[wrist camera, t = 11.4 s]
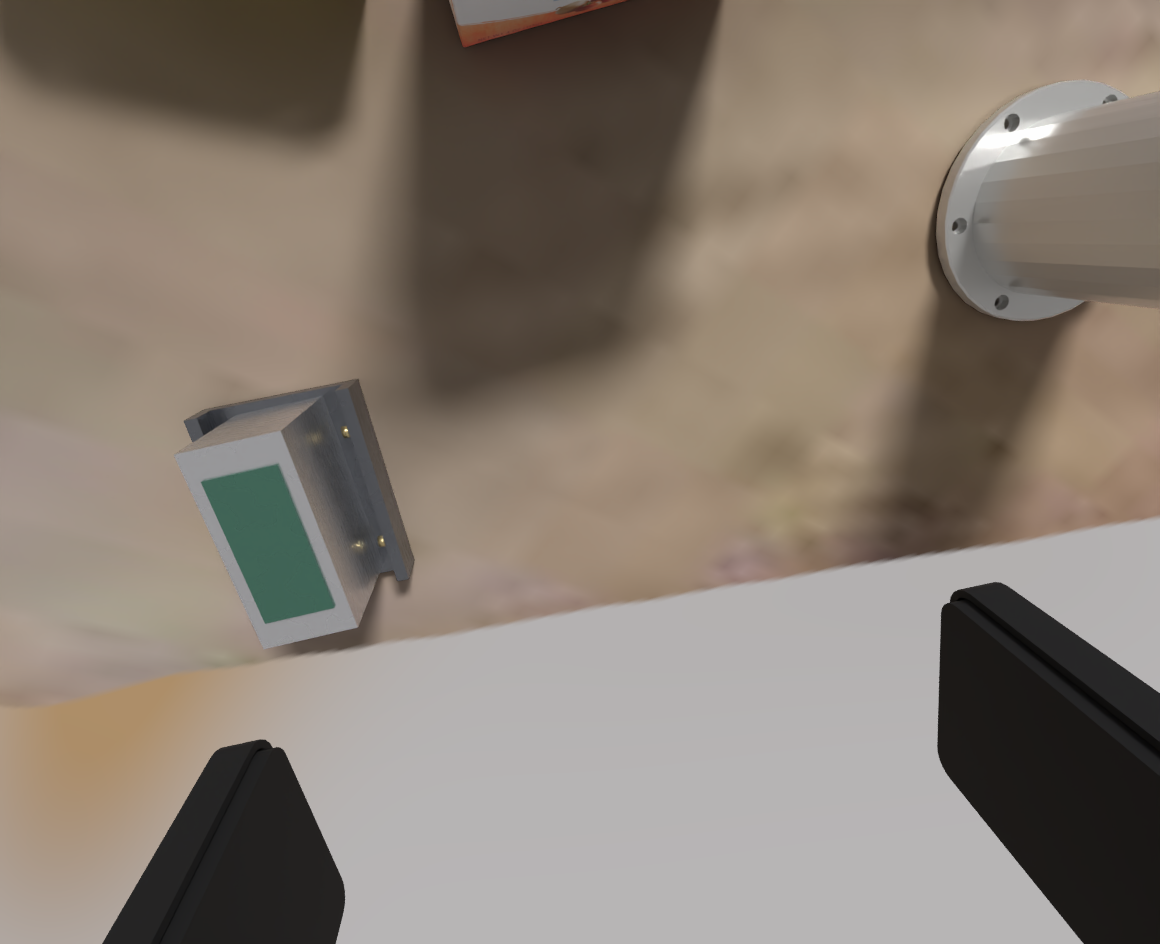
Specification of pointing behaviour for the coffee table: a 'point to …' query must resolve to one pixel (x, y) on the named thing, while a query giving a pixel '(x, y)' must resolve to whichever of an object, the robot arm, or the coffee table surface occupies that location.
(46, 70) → the coffee table surface
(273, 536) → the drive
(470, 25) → the cracker box
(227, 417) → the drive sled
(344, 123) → the coffee table surface
